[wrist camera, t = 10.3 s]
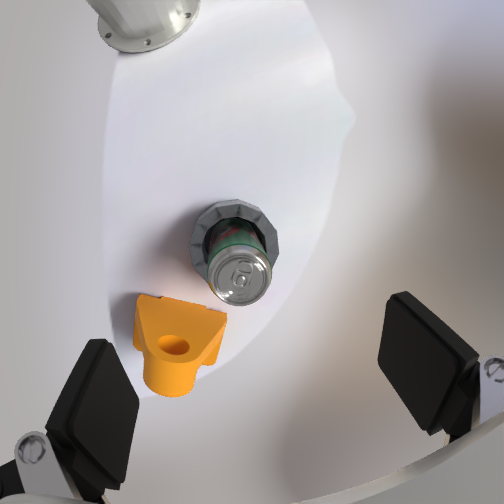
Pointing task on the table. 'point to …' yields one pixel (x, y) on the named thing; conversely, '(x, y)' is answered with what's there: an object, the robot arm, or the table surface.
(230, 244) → the soda can
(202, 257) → the rosette ring
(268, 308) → the table surface
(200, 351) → the bracket
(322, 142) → the table surface
